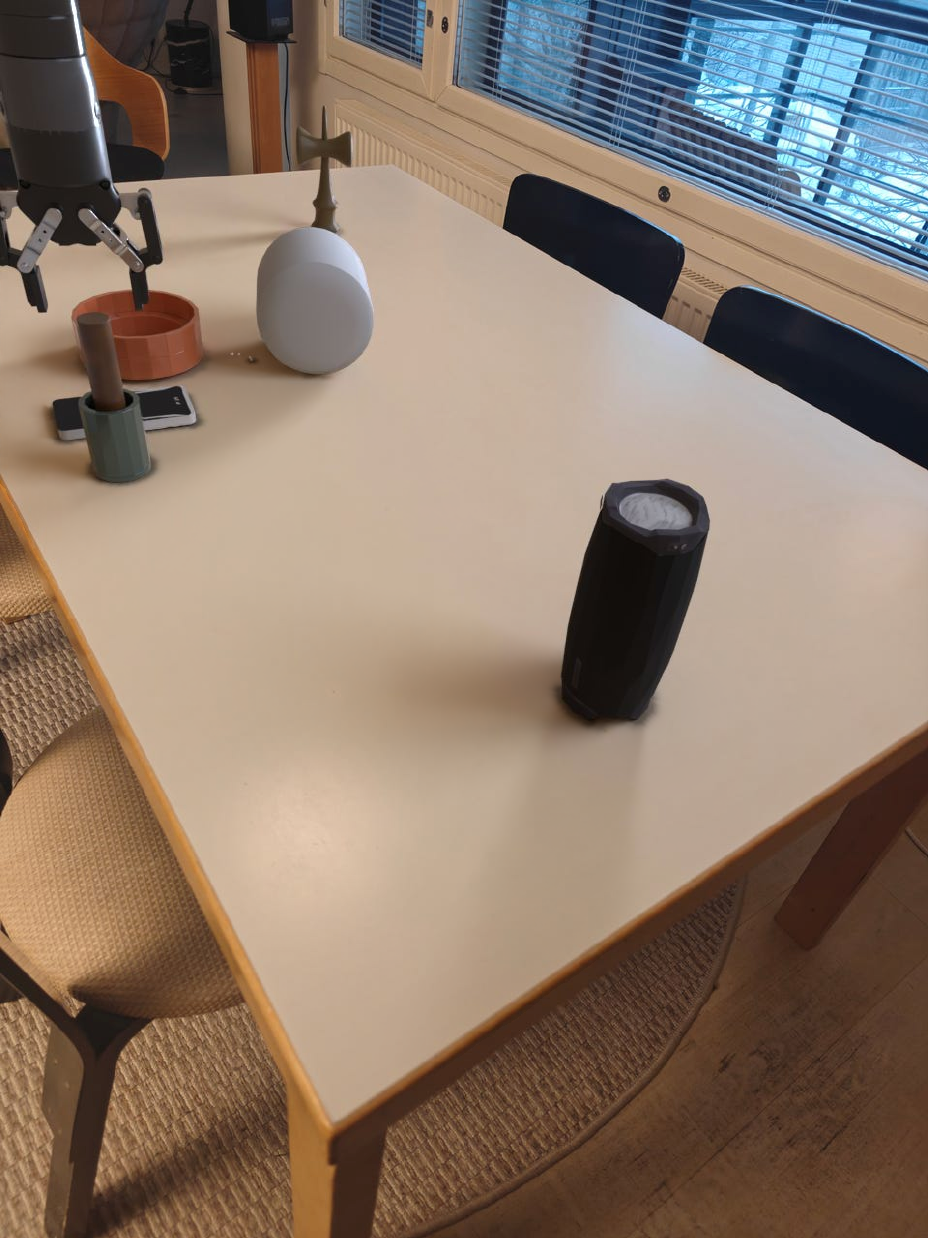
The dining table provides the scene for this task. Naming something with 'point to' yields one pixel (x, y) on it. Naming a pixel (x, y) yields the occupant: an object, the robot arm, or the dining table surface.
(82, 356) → the bowl
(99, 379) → the stirring stick
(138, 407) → the holder
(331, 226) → the kendama
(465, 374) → the dining table surface
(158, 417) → the smartphone
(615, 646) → the portable speaker
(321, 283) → the white oval cylinder
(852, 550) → the dining table surface
